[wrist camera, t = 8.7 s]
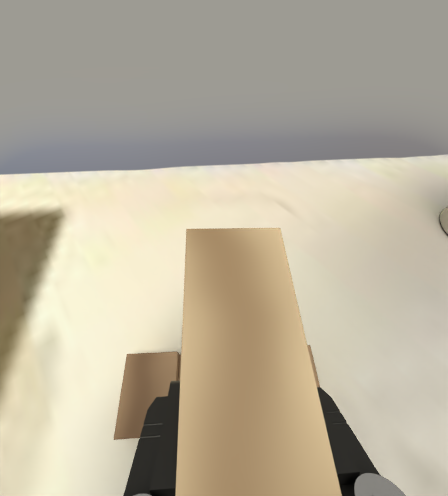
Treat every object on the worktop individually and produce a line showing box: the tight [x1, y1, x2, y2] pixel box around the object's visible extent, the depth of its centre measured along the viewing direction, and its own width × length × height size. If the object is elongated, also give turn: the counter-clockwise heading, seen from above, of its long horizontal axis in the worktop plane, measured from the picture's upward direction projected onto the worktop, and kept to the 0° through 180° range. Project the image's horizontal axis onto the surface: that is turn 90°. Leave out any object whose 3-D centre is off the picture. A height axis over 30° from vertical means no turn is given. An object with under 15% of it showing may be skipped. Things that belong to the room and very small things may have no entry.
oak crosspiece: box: [176, 228, 342, 496], centre depth 11 cm, size 4×9×8 cm, turn 3°
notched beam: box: [114, 345, 320, 440], centre depth 21 cm, size 17×6×2 cm, turn 93°
